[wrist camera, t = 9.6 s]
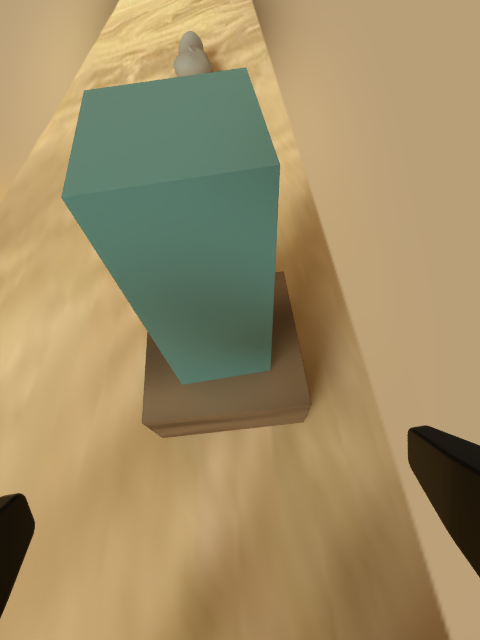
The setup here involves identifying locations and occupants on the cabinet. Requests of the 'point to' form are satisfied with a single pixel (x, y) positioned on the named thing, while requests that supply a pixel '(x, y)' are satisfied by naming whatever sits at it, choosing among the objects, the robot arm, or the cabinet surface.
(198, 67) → the pale two-lobed sculpture
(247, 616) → the cabinet surface
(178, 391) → the walnut base block
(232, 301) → the pillar block
